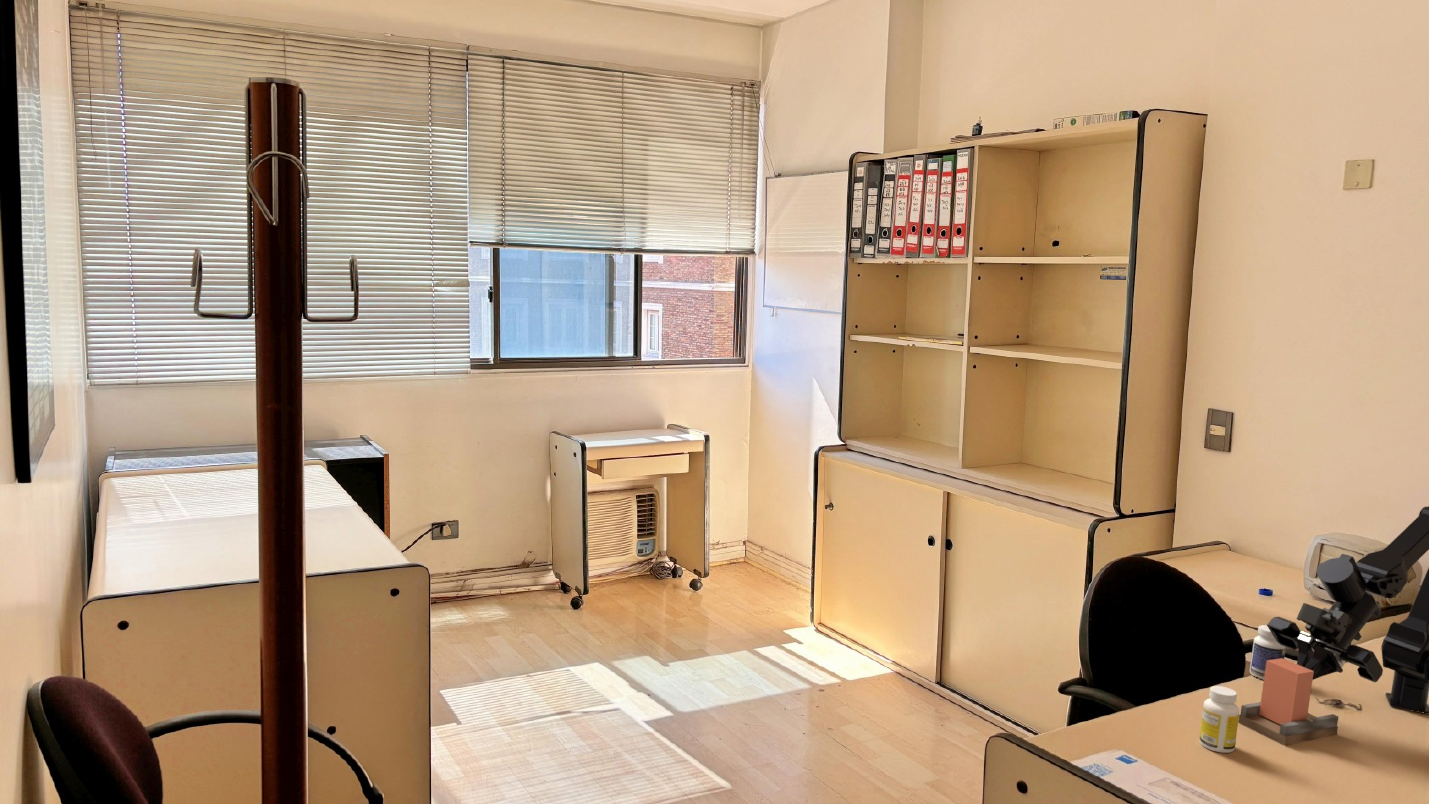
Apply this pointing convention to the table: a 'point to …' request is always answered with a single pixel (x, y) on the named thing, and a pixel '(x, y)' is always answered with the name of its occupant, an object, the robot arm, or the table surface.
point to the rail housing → (1288, 726)
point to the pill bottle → (1264, 651)
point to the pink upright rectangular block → (1285, 691)
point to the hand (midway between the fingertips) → (1295, 683)
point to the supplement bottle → (1220, 720)
